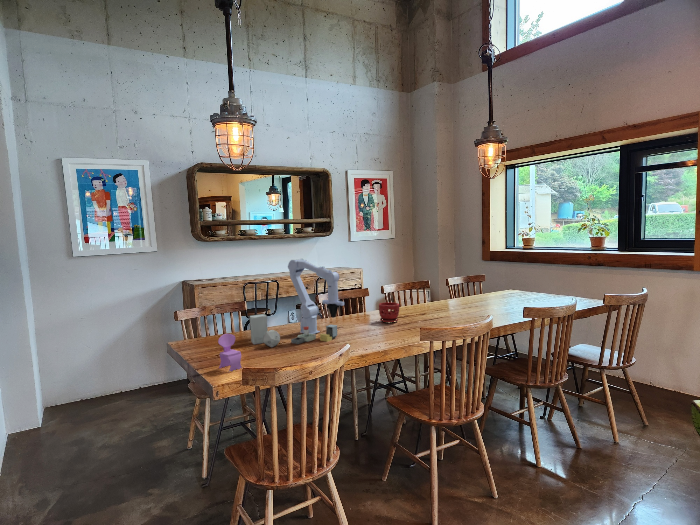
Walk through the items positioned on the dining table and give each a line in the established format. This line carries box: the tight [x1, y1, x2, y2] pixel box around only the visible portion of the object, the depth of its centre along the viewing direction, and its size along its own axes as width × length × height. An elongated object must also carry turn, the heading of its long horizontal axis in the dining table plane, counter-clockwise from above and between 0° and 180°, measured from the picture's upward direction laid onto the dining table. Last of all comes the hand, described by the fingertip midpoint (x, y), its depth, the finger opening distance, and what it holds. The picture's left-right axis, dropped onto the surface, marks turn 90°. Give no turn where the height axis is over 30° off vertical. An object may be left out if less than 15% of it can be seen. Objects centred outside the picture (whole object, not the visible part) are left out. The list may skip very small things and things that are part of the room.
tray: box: [297, 333, 317, 343], centre depth 229 cm, size 7×7×2 cm
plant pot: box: [378, 301, 400, 323], centre depth 268 cm, size 13×13×12 cm
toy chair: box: [217, 333, 243, 372], centre depth 183 cm, size 8×9×15 cm
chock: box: [319, 333, 333, 343], centre depth 227 cm, size 5×4×4 cm
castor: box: [325, 324, 338, 340], centre depth 231 cm, size 5×6×7 cm
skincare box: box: [249, 313, 269, 345], centre depth 226 cm, size 8×6×15 cm
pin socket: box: [290, 336, 306, 345], centre depth 224 cm, size 5×5×2 cm
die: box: [263, 329, 281, 348], centre depth 218 cm, size 8×9×10 cm
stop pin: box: [303, 326, 309, 337], centre depth 229 cm, size 3×3×6 cm
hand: (333, 317), depth 236 cm, fingers closed
